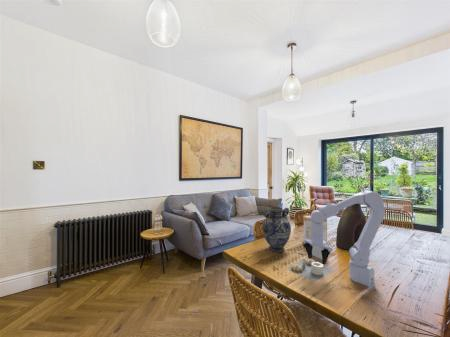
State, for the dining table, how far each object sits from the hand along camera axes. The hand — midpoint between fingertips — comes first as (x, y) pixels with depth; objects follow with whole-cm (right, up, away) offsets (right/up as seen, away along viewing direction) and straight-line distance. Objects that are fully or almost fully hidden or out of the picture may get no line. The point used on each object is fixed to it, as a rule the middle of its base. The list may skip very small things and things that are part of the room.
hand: (317, 260), depth 104 cm
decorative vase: (-12, -8, +34) cm, 37 cm away
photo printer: (+10, -8, +19) cm, 23 cm away
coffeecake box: (+20, -8, +47) cm, 51 cm away
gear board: (-2, -7, +3) cm, 8 cm away
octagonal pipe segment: (0, -6, 0) cm, 6 cm away
